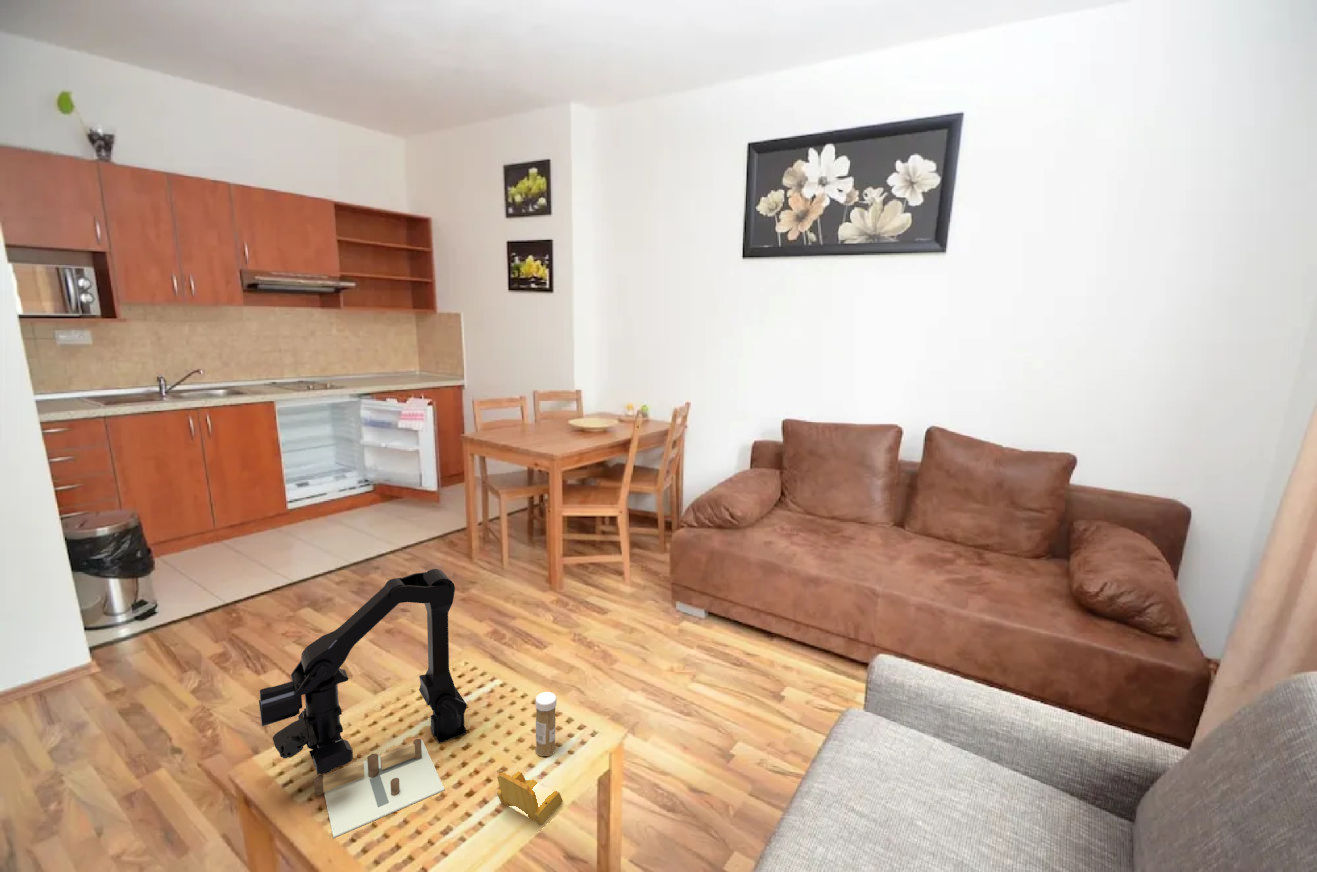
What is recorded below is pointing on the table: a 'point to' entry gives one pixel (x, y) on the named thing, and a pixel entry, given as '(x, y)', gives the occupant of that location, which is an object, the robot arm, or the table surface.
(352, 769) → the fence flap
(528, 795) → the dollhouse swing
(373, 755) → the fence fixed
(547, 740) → the sprinkles bottle
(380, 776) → the card
